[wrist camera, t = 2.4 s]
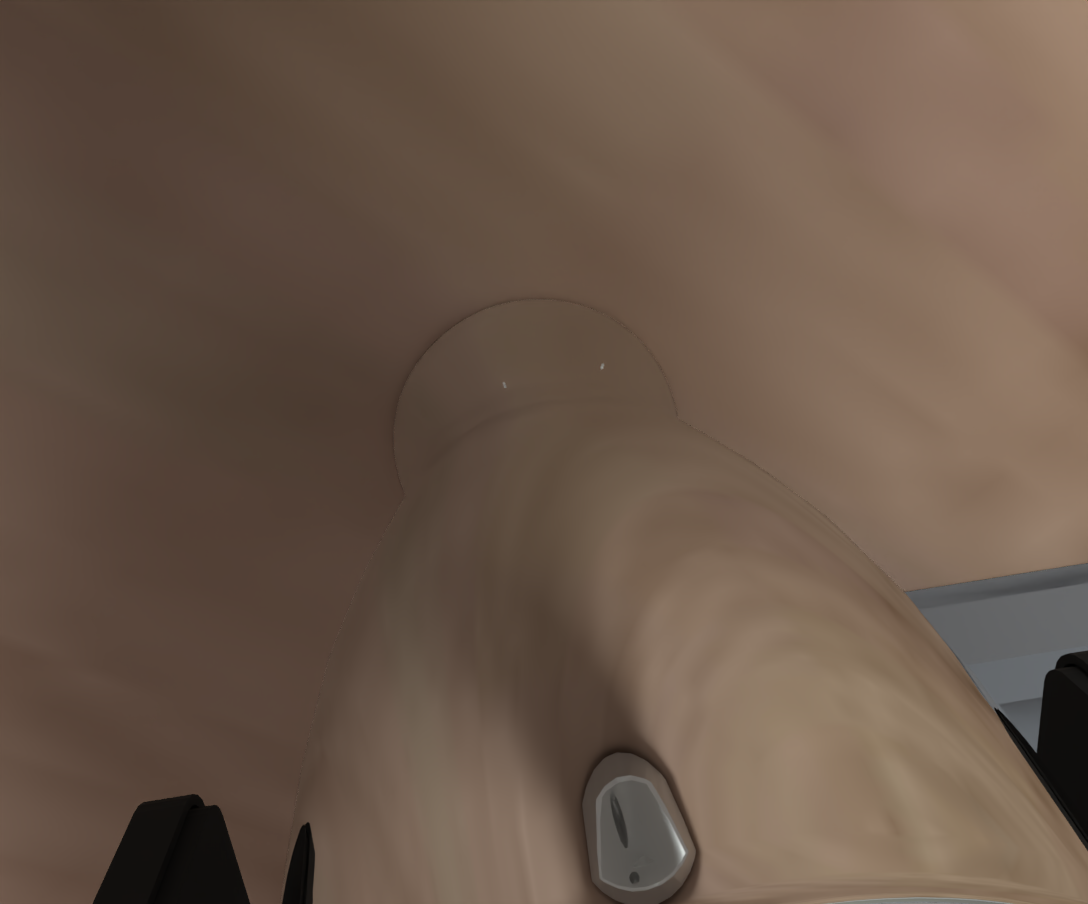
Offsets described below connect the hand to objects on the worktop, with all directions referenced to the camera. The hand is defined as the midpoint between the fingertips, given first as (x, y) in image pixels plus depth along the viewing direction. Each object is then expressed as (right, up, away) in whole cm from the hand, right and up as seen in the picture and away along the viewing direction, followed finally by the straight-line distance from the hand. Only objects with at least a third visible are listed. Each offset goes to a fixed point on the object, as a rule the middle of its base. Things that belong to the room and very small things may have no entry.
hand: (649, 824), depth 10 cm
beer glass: (-1, +5, +10) cm, 11 cm away
